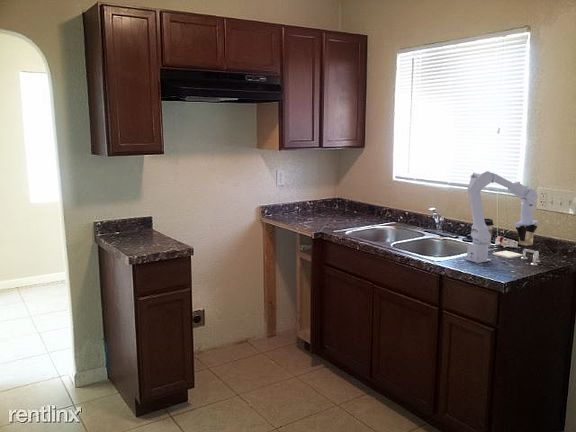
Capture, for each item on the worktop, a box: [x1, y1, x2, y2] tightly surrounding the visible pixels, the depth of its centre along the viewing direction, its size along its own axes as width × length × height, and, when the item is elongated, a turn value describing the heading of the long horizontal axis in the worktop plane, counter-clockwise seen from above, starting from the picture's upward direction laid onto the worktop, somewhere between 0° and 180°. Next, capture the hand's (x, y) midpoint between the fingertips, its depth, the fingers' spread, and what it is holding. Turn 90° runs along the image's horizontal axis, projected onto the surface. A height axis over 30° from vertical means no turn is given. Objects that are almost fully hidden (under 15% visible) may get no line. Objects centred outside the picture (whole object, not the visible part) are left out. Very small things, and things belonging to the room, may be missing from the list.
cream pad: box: [492, 250, 523, 259], centre depth 260 cm, size 10×10×1 cm
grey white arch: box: [520, 248, 541, 266], centre depth 246 cm, size 9×13×5 cm
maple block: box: [518, 231, 534, 247], centre depth 251 cm, size 4×4×6 cm
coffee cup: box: [484, 218, 494, 248], centre depth 279 cm, size 8×8×15 cm
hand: (525, 240), depth 251 cm, fingers closed on maple block, 4 cm apart
